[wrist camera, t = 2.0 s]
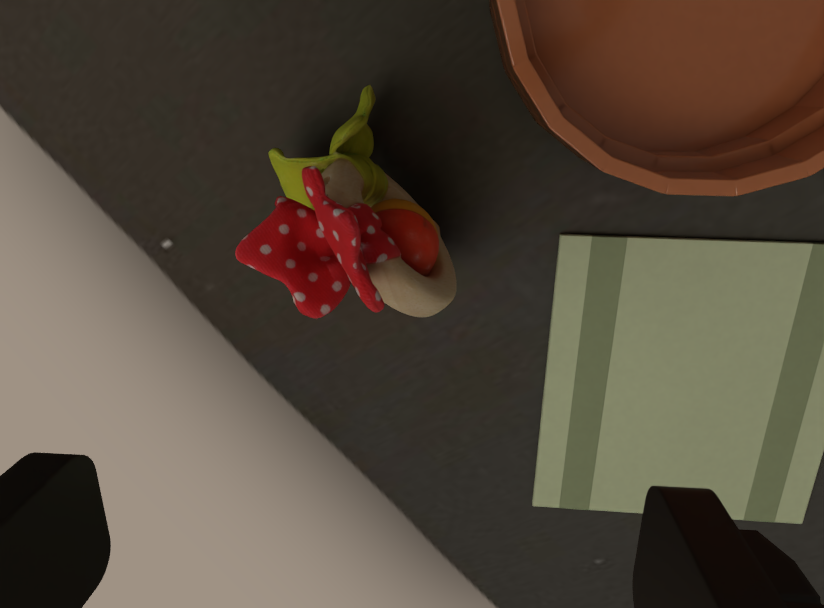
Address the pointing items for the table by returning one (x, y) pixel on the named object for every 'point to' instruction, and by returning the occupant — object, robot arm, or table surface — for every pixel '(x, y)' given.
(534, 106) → the pan
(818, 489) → the table surface
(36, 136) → the table surface
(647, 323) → the towel
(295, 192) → the bird rattle
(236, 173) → the table surface
